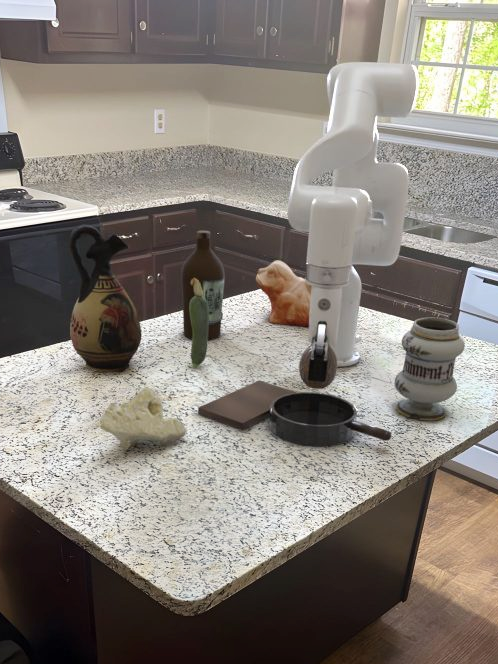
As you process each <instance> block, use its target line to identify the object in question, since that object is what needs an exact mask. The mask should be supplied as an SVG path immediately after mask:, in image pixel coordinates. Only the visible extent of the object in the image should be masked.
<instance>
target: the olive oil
mask: <svg viewBox="0 0 498 664" xmlns="http://www.w3.org/2000/svg"><path fill="white" fill-rule="evenodd" d="M196 235H197V236H196V248H195V249H194V250H193V251H192V252H191V254H189V256H188V257H187V258H186V259H185V260H184V262H183V264H182V267H181V271H180V273H181V275H180V277H181V278H180V279H181V296H182V317H183V320H182V321H183V323H182V324H183V325H182V326H183V335H184V337H185V338H188V339H191V340H192V338H193V330H192V326H191V320H190V313H189V304H190V300H191V299H192V298H193V297H194V296H195V293H194V282H193V285H191V280H192V279H193V278H196V279H197V280H199V283H200V284H201V287H202V290H203V297H204V298H205V299H206V300H207V302H208V306H209V331H208V341H211V340H215V339H218V338H219V337H220V336H221V331H222V330H221V328H222V321H223V318H224V317H223V316H224V313H223V301H224V300H223V299H224V289H225V280H226V279H225V278H226V276H225V268H224V265H223V262H222V261H221V260H220V258H219V257H218V256H217V255H216V254H215V252H214V251H213V249H212V248H211V243H212V241H211V239H212V238H211V231H209V230H198V231H196Z"/></svg>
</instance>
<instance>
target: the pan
mask: <svg viewBox="0 0 498 664" xmlns="http://www.w3.org/2000/svg"><path fill="white" fill-rule="evenodd" d="M296 392H297V391H296ZM357 419H358V409H357V408H356V406H355V405H354V404H353V403H351V402H350V401H349V400H347V399H345V398H342V397H340V396H337V395H333V394H328V393H323V392H314V391H298V392H297V393H290V394H286V395H282V396H280V397H278V398H276V399H275V400H274V401H273V402H272V403H271V406H270V417H269V422H268V425H269V430H270V432H271V433H272V434H273V435H274V436H276V437H278V438H279V439H281V440H283V441H285V442H288V443H292V444H295V445H301V446H307V447H330V446H331V447H332V446H336V445H339V444H343V443H346V442H347V441H350V440H351V439H352V438H353V437H354V435H355V432H356V431H354V430H351V429H350V428H349V423H350V422H351V421H352V420H355V421H358V420H357Z"/></svg>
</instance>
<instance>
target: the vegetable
mask: <svg viewBox="0 0 498 664" xmlns="http://www.w3.org/2000/svg"><path fill="white" fill-rule="evenodd" d="M193 282H194V293H195V296H194V297H193V298H192V299H191V300H190V304H189V313H190V320H191V326H192V330H193V338H192V339H191V349H190V361H191V365H193V367H194V368H198V367H199V366H200V365H202V363H204V361H205V360H206V356H207V351H208V347H209V346H208V344H209V340H208V331H209V306H208V302H207V300H206V299H205V298H204V297H203V290H202V287H201V284H200V283H199V280H197V279H196V278H193V279H192V280H191V285H193Z"/></svg>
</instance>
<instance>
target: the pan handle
mask: <svg viewBox="0 0 498 664" xmlns="http://www.w3.org/2000/svg"><path fill="white" fill-rule="evenodd" d="M349 428H350V429H351V430H354V431H355V432H357V433H360V434H363V435H367V436H369V437H371V438H375V439H378V440H381V441H383V442H386V441H387V442H388V441H389V440H391V439H392V433H391V431H390V430H387V429H384V428H380V427H378V426H374V425H371V424H368V423H365V422H361V421H358V420H356V421H355V420H352V421H351V422H350V423H349Z"/></svg>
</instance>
